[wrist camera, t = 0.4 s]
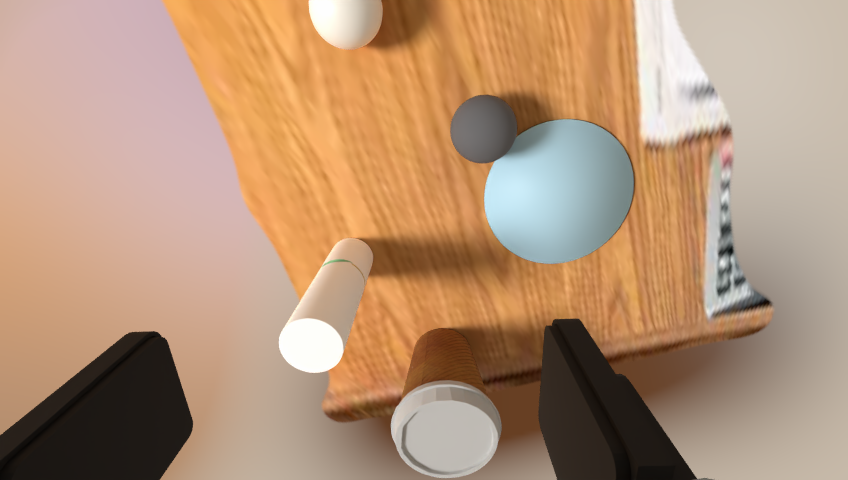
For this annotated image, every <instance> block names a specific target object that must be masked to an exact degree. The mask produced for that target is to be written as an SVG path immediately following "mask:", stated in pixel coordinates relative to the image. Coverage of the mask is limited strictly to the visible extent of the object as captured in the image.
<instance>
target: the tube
mask: <svg viewBox="0 0 848 480" xmlns="http://www.w3.org/2000/svg"><path fill="white" fill-rule="evenodd" d="M372 264H373V253H372V251H371V249H370V247H369V246H368V245H367V244H366V243H365V242H363V241H361V240H359V239H356V238H346V239H343V240H341V241H339V242H338V243H337V244H336V245H335V246H334V247H333V249H332V251H331V252H330V254H329V255H328V257H327V259H326V260H325V262H324V264H323V265H322V267H321V268H320V270H319V272H318V273H317V275H316V277H315V278H314V280H313V281H312V283H311V285H310V286H309V288H308V290H307V291H306V293H305V294H304V296H303V298H302V299H301V301H300V303H299V304H298V306H297V307H296V309H295V311H294V313H293V314H292V316H291V317H290V319H289V321H288V322H287V324H286V325H285V327H284V329H283V330H282V332H281V334H280V338H279V348H280V351H281V353H282V355H283V357H284V358H285V360H286V361H287V362H288V363H290V364H291V365H292V366H293V367H295V368H297V369H299V370H302V371H306V372H311V373H317V372H324V371H327V370H329V369H331V368H333V367H334V366H335V365H337V363H338V362H339V361H340V359H341V357H342V355H343V352H344V349H345V346H346V343H347V340H348V337H349V333H350V330H351V327H352V324H353V321H354V318H355V315H356V312H357V309H358V306H359V303H360V300H361V297H362V294H363V291H364V288H365V285H366V282H367V279H368V276H369V273H370V270H371V267H372Z"/></svg>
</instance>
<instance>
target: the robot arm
mask: <svg viewBox="0 0 848 480" xmlns="http://www.w3.org/2000/svg"><path fill="white" fill-rule="evenodd" d="M539 423H540V428H541V431H542V434H543V437H544V440H545V443H546V446H547V449H548V453H549V456H550V459H551V462H552V465H553V467H554V471H555V474H556V477H557V480H713V479H707V478H703V479H697V478H696V477H695V475H694V474H693V472H692V471H691V469H690V468H689V466H688V465H687V464H686V462H685V461H684V459H683V458H682V456H681V455H680V454H679V452H678V451H677V449H676V448H675V446H674V445H673V443H672V442H671V440H670V439H669V437H668V436H667V435H666V433H665V432H664V430H663V429H662V427H661V426H660V425H659V423H658V422H657V421H656V419H655V417H654V416H653V414H652V413H651V411H650V410H649V409H648V407H647V406H646V404H645V403H644V401H643V400H642V398H641V397H640V395H639V394H638V393H637V391H636V390H635V388H634V387H633V385H632V384H631V382H630V381H629V380H628V379H627V378H626V376H624V375H622V374H615V372H614V371H613V369H612V368H611V366H610V365H609V363H608V362H607V360H606V359H605V357H604V356H603V354H602V353H601V351H600V349H599V348H598V346H597V345H596V343H595V342H594V340H593V339H592V337H591V336H590V334H589V333H588V331H587V330H586V328H585V327H584V325H583V324H582V322H581V321H580V320H579V319H555V320H554V321H553V323H552V326H546V327H545V332H544V346H543V359H542V372H541V386H540V399H539ZM192 428H193V420H192V417H191V414H190V411H189V408H188V404H187V401H186V398H185V395H184V392H183V389H182V386H181V382H180V379H179V376H178V373H177V370H176V367H175V364H174V361H173V357H172V354H171V351H170V348H169V345H168V342H167V340H166V339H165V338H163V337H161V335H160V334H159V333H158V332H154V331H153V332H131V333H128V334H126V335H125V336H124V337H122V338H121V339H120V340H119V341H117V342H116V343H115V344H113V346H111V347H110V348H108V349H107V350H106V351H105V352H104V353H102V354H101V355H100V356H99V357H97V358H96V359H95V360H94V361H92V362H91V363H90V364H89V365H87V366H86V367H85V368H84V369H82V370H81V371H80V372H79V373H77V374H76V375H75V376H74V377H72V378H71V379H70V380H69V381H67V382H66V383H65V384H64V385H63V386H61V387H60V388H59V389H57V390H56V391H55V392H54V393H52V394H51V395H50V396H49V397H47V398H46V399H45V400H44V401H42V402H41V403H40V404H39V405H38V406H36V407H35V408H34V409H33V410H31V411H30V412H29V413H28V414H26V415H25V416H24V417H23V418H21V419H20V420H19V421H18V422H16V423H15V424H14V425H13V426H11V427H10V428H9V429H8V430H6V431H5V432H4V433H3V434H1V435H0V480H160V478H161V477H162V476H163V474H164V473H165V471H166V470H167V468H168V467H169V465H170V464H171V463H172V461H173V460H174V458H175V457H176V455H177V454H178V452H179V451H180V450H181V448H182V447H183V445H184V444H185V442H186V441H187V439H188V438H189V436H190V434H191V432H192Z"/></svg>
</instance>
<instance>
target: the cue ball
mask: <svg viewBox="0 0 848 480" xmlns="http://www.w3.org/2000/svg"><path fill="white" fill-rule="evenodd" d="M309 12H310V16H311V19H312V22H313V24H314V27H315V28H316V30H317V32H318V33H319V34H320V36H321V37H322V38H323V39H324V40H326V41H327V42H328V43H330V44H331V45H333V46H335V47H337V48H340V49H346V50H353V49H358V48H361V47H363V46H365V45H367V44H368V43H369V42H371V41H372V40H373V38H374V37H375V36H376V34H377V33H378V31H379V29H380V26H381V22H382V16H383V7H382V1H381V0H309Z"/></svg>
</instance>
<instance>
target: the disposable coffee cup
mask: <svg viewBox="0 0 848 480" xmlns="http://www.w3.org/2000/svg"><path fill="white" fill-rule="evenodd" d="M391 433H392V437H393V440H394V442H395V444H396V447H397V450H398V452H399V454H400V456H401V457H402V459H403V460H404V461H405V462H406V464H408V465H409V466H411V467H412V468H413V469H414V470H416V471H418V472H420V473H423V474H426V475H429V476H432V477H438V478H454V477H461V476H464V475H468V474H470V473H473V472H475V471H477V470H479V469H480V468H482V467H483V466H484V465H486V463H487V462H488V461H489V460H490V459H491V458H492V456H493V454H494V453H495V450H496V448H497V444H498V440H499V438H500V434H501V420H500V416H499V412H498V411H497V409H496V408H495V406H494V404H493V402H492V401H491V400H490V399H489V397H488V395H487V392H486V389H485V387H484V384H483V381H482V379H481V376H480V373H479V371H478V368H477V365H476V362H475V360H474V357H473V354H472V351H471V349H470V346H469V343H468V341H467V340H466V339H465V338H464V336H462V335H461V334H460V333H458V332H456V331H454V330H450V329H435V330H431V331H429V332H427V333H425V334H424V335H422V336H421V337H420V338H419V340H418V341H417V343H416V345H415V349H414V353H413V356H412V360H411V364H410V368H409V372H408V375H407V379H406V383H405V386H404V390H403V394H402V399H401V402H400V404H399V405H398V406H397V407H396V410H395V412H394V414H393V417H392V422H391Z"/></svg>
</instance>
